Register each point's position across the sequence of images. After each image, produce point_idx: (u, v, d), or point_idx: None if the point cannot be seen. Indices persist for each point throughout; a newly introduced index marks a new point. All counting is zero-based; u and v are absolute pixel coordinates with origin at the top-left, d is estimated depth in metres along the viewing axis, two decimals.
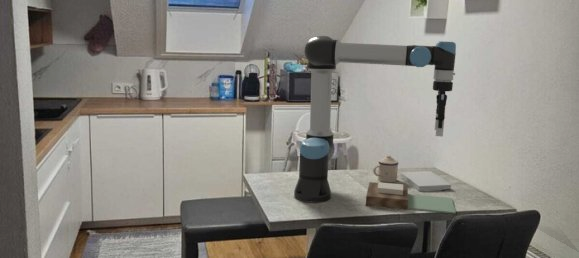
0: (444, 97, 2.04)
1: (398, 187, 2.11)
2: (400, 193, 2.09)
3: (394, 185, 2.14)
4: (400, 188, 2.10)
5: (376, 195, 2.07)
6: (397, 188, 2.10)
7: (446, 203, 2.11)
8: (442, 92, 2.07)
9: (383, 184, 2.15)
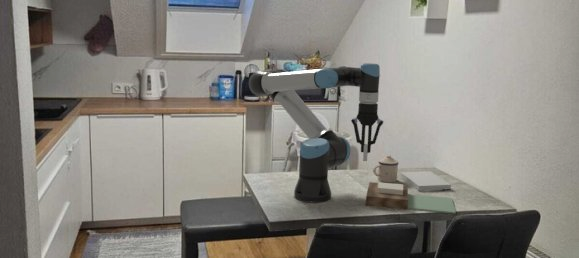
0: (352, 122, 2.11)
1: (398, 187, 2.11)
2: (400, 193, 2.09)
3: (394, 185, 2.14)
4: (400, 188, 2.10)
5: (376, 195, 2.07)
6: (397, 188, 2.10)
7: (446, 203, 2.11)
8: None
9: (383, 184, 2.15)
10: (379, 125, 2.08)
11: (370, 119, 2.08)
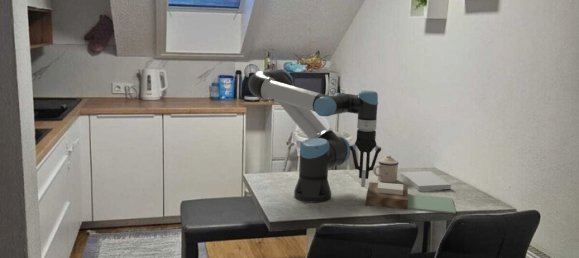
0: None
1: (398, 187, 2.11)
2: (400, 193, 2.09)
3: (394, 185, 2.14)
4: (400, 188, 2.10)
5: (376, 195, 2.07)
6: (397, 188, 2.10)
7: (446, 203, 2.11)
8: None
9: (383, 184, 2.15)
10: (377, 152, 2.10)
11: (368, 146, 2.10)
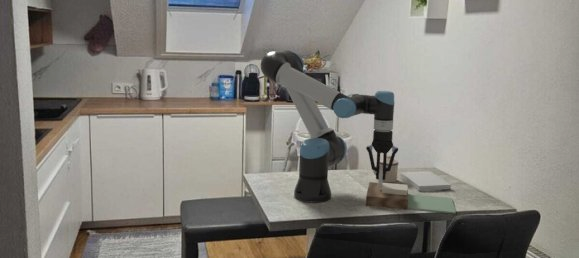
0: (367, 149, 2.12)
1: (402, 188, 2.11)
2: (404, 193, 2.08)
3: (398, 185, 2.14)
4: (405, 188, 2.10)
5: (376, 195, 2.07)
6: (401, 188, 2.10)
7: (446, 203, 2.11)
8: None
9: (387, 184, 2.15)
10: (394, 152, 2.09)
11: (385, 147, 2.09)
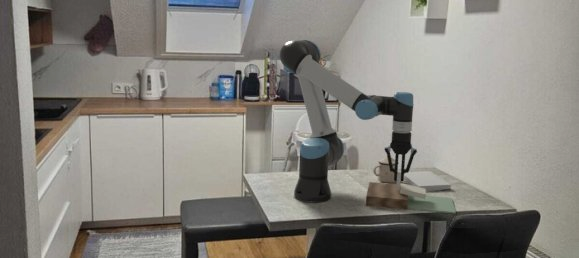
0: None
1: (420, 191, 2.09)
2: (422, 197, 2.07)
3: (417, 188, 2.12)
4: (423, 192, 2.09)
5: (376, 195, 2.07)
6: (420, 192, 2.08)
7: (446, 203, 2.11)
8: None
9: (406, 186, 2.13)
10: (413, 154, 2.08)
11: (404, 148, 2.07)
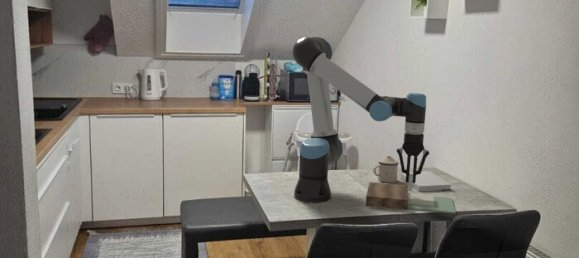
0: (397, 152, 2.09)
1: (428, 198, 2.09)
2: (431, 204, 2.07)
3: (424, 196, 2.12)
4: (431, 199, 2.09)
5: (376, 195, 2.07)
6: (428, 199, 2.08)
7: (446, 203, 2.11)
8: None
9: (413, 195, 2.13)
10: (425, 155, 2.07)
11: (416, 149, 2.06)
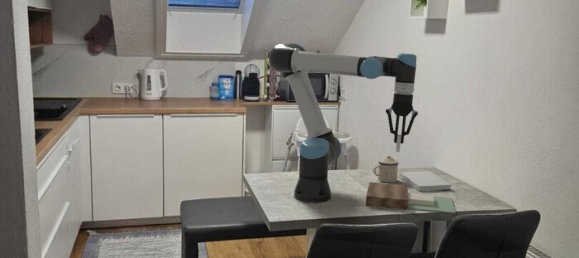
0: (386, 112, 2.10)
1: (428, 198, 2.09)
2: (431, 204, 2.07)
3: (424, 196, 2.12)
4: (431, 199, 2.09)
5: (376, 195, 2.07)
6: (428, 199, 2.08)
7: (446, 203, 2.11)
8: None
9: (413, 195, 2.13)
10: (414, 116, 2.07)
11: (405, 110, 2.07)
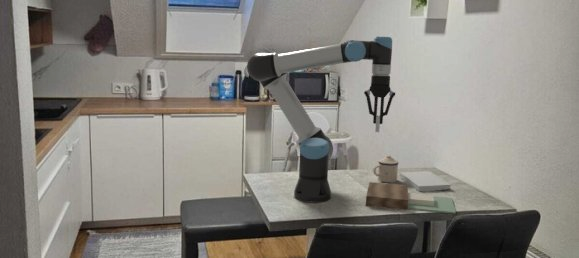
0: (365, 94, 2.17)
1: (428, 198, 2.09)
2: (431, 204, 2.07)
3: (424, 196, 2.12)
4: (431, 199, 2.09)
5: (376, 195, 2.07)
6: (428, 199, 2.08)
7: (446, 203, 2.11)
8: None
9: (413, 195, 2.13)
10: (391, 97, 2.14)
11: (382, 91, 2.14)
